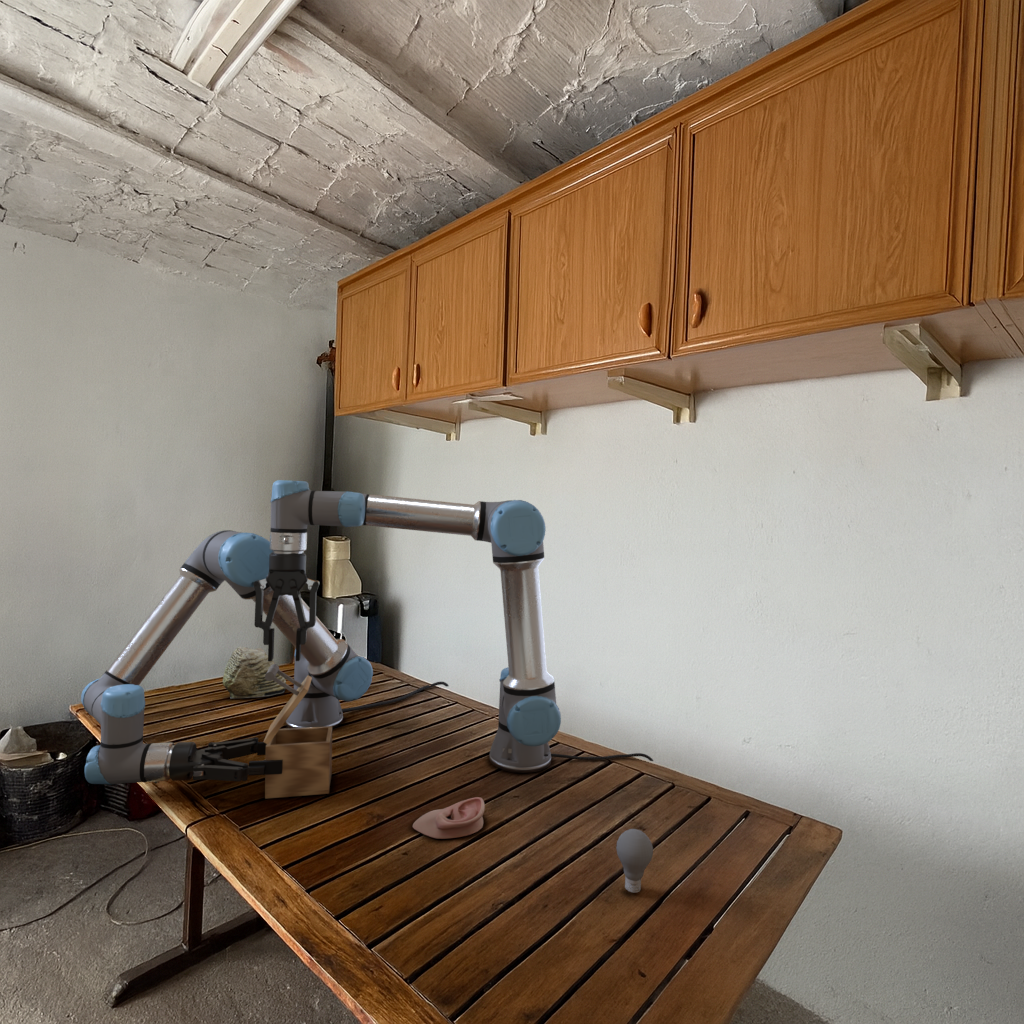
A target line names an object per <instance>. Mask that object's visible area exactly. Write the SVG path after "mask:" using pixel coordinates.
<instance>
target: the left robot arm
mask: <svg viewBox="0 0 1024 1024" xmlns="http://www.w3.org/2000/svg"><path fill="white" fill-rule="evenodd" d="M270 553H272V550H270V540H268V539H267V538H265V537H263V536H261V535H259V534H257V533H253V532H242V531H235V530H229V529H224V530H220V531H215V532H214V533H212V534H210V535H208V536H207V537H206V538H205V539H204V540H203V539H202V541H201V542H200V543H199V544H198V545H197V547H195V549H194V550H193V551H192V552H191V553H190V555H189V556H188V558H187V559H186V560H185V561H184V562H183V564H181V567H179V576H178V578H177V579H176V580H175V581H174V582H173V584H172V585H171V587H170V588H169V589H168V591H167V592H166V593H165V594H164V596H162V598H161V599H160V600H159V602H158V604H157V605H156V606H155V607H154V608H153V610H152V611H151V612H150V614H149V615H148V616H147V617H146V619H145V620H144V621H143V623H142V624H141V625H140V627H139V628H137V630H136V631H135V633H134V634H133V636H132V637H131V638H130V640H129V641H128V642H127V643H126V644H125V646H124V647H123V648H122V650H121V651H120V652H119V653H118V655H117V656H116V657H115V659H114V660H113V661H112V662H111V664H110V665H109V667H107V669H106V670H105V671H104V673H102V675H101V677H99V678H96V679H94V680H92V681H91V682H88V684H87V685H85V686H84V688H83V689H82V692H81V695H80V702H81V705H82V706H83V709H84V710H85V712H86V713H88V715H90V716H91V717H92V718H93V719H95V721H96V722H97V723H98V724H99V725H100V744H99V745H95V746H93V747H91V749H90V750H89V752H88V753H87V756H86V759H85V765H84V777H85V780H86V781H87V783H89V784H90V785H109V786H112V785H121V784H136V783H154V784H159V783H160V782H168V781H169V780H171V781H172V782H178V781H179V782H181V781H190V780H191V779H192V780H193V781H200V780H210V781H226V782H246V781H248V776H249V777H250V776H265V775H271V774H282V766H283V760H266V759H264V760H249V762H248V763H246V762H241V761H237V760H235V759H238V758H241V757H246V756H250V755H255V754H256V756H266V745H267V744H266V743H264V741H259V737H252V738H243V739H242V738H241V739H235V740H234V739H233V740H227V741H219V742H218V741H217V742H213V741H211V742H208V745H207V747H205V748H201V749H198V746H197V744H196V742H194V741H180V742H176V743H174V742H153V743H152V742H151V743H145V742H144V728H145V727H144V726H145V725H144V724H145V708H146V698H145V689H144V688H143V686H141V684H142V682H143V680H144V679H145V678H146V677H147V675H148V674H149V673H150V671H151V670H152V669H153V667H154V666H155V665H156V664H157V662H158V661H159V659H160V658H161V657H162V655H163V654H164V653H165V651H166V650H167V649H168V648H169V646H170V645H171V643H173V641H174V639H176V637H177V636H178V635H179V633H180V632H181V630H182V629H183V628H184V627H185V625H186V623H187V622H188V621H189V620H190V619H191V617H192V616H193V614H194V613H195V612H196V610H198V608H199V607H200V605H201V604H202V602H203V601H204V600H205V598H207V596H208V595H209V594H210V593H213V592H216V591H217V590H218V589H219V587H220V586H221V585H222V584H223V583H224V582H226V583H227V585H229V586H230V588H232V589H233V590H234V592H235V593H236V594H237V595H238V596H239V597H240V598H241V599H242V600H252V601H253V602H254V603H255V600H256V591H255V589H254V586H253V583H254V582H255V581H256V580H262V579H265V578H266V577H267V575H268V573H269V554H270ZM263 591H264V595H263V614H265V615H266V616H267V614H268V610H269V607H270V604H271V601H272V597H273V593H274V591H273V590H272V588H271V587H270V586H269V584H268V583H266V587H265V588H264V589H263ZM301 601H302V605H303V609H304V614H305V618H306V622H308V621H309V605H308V604H307V603H306V602H305V601H304V600H303V598H302V597H301ZM272 624H274V626H275V627H276V628H277V629H278V630H279V631H280V633H282V634H283V636H284V637H285V638H286V639H287V640H288V641H289V642H290V644H292V646H293V647H294V648H295V650H294V655H293V657H294V672H293V679H294V680H296V681H297V682H299V683H301V684H302V682H303V681H304V680H305V678H306V677H307V676H308V675H309V676H310V677H312V680H311V683H310V686H309V690H308V692H307V693H306V695H305V696H304V697H303V699H302V700H301V701H300V703H299V704H298V705H297V707H296V708H295V709H294V711H293V712H292V713H291V715H290V716H289V717H288V719H287V720H286V721H285V726H286V728H287V729H290V728H308V727H326V726H332V730H333V729H335V728H337V727H339V726H340V725H342V723H343V722H344V714H343V713H347V712H354V711H360V710H365V709H372V708H375V707H376V708H377V707H381V706H385V705H390V704H393V703H397V702H400V701H403V700H406V699H408V698H410V697H411V696H413V695H416V694H418V693H420V692H422V691H424V690H426V689H431V688H433V687H436V686H440V685H441V686H442V685H443V686H445V687H449V686H450V685H449V684H448V683H447V682H445V681H436V682H434V683H430V684H427V685H424V686H421V687H419V688H417V689H415V690H412V691H411V692H409V693H406V694H405V695H402V696H399V697H397V698H393V699H389V700H385V701H384V700H383V701H379V702H375V703H371V704H365V705H358V706H352V707H351V706H350V707H346V708H342V706H341V702H340V701H343V702H349V703H350V702H353V701H354V702H355V701H357V700H359V699H360V698H361V697H363V696H364V695H365V694H366V692H368V690H369V688H370V686H371V684H372V681H373V675H374V670H373V666H372V664H371V662H370V661H369V660H368V659H367V658H365V657H364V656H362V655H358V654H357V653H356V652H355V651H354V650H353V648H352V647H351V646H350V645H349V644H348V643H347V641H346V640H345V639H343V638H335V637H334V634H332V633H331V631H329V629H328V628H327V627H326V625H324V623H323V622H322V621H321V620H320V619H319V618H318V616H317V615H316V623H315V626H314V627H310V628H308V629H307V637H306V643H305V645H301V658H300V660H299V661H296V633H297V629H298V628H300V625H299V621H298V616H297V612H296V608H295V603H294V600H293V596H289V595H283V596H280V598H279V601H278V604H277V608H276V611H275V614H274V618H273V621H272ZM429 685H431V686H429ZM293 688H294V689H295V690H297V689H298V688H299V687H298V686H296V685H295V684H293Z"/></svg>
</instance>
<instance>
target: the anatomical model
mask: <svg viewBox="0 0 1024 1024" xmlns="http://www.w3.org/2000/svg"><path fill="white" fill-rule="evenodd" d="M485 809H486V806H485V801H484V798H482V797H480V796H479V797H478V796H476V797H470V798H467V799H463V800H461V801H458V802H456V803H454V804H451V805H449V806H447V807H444V808H440V809H434V810H430V811H428V812H426V813H424V814H422V815H421V816H420V817H419V818H417V819H416V820H415V821H414V822H413V824H412V828H413V830H415V831H417V832H419V833H421V834H422V835H424V836H427V837H429V838H432V839H437V840H440V839H441V840H445V839H455V838H461V837H466V836H470V835H472V834H475V833H477V832H479V831H480V830H482V828H483V827H484V818H483V817H484V816H483V815H484V813H485Z"/></svg>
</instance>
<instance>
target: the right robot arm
mask: <svg viewBox="0 0 1024 1024" xmlns="http://www.w3.org/2000/svg"><path fill="white" fill-rule="evenodd" d="M269 503H270V530H269V531H270V532H269V541H270V550H272V553H270V554H269V573H268V575H267V577H266V578H265V579H262V580H256V581H255V582H254V583H253V586H254V589H255V591H256V600H255V602H254V627H255V628H257V629H258V628H259V629H261V630H262V632H263V635H262V636H263V637H262V643H263V645H264V646H267V649H268V650H267V655H268V661H272V660H273V661H274V658H275V657H274V653H275V628H274V627H272V624H273V622H272V621H273V618H274V614H275V611H276V608H277V604H278V601H279V598H280V596H283V595H289V596H293V600H294V603H295V608H296V612H297V616H298V621H299V625H300V628H298V629H297V633H296V648H295V650H296V661H299V660H300V658H301V645H305V643H306V637H307V629H308V628H310V627H314V626H315V623H316V616H317V592H318V589H319V586H320V581H319V580H318V579H317V580H315V579H311V578H309V576H308V574H307V554H306V552H305V551H307V549H308V548H307V546H308V545H307V544H308V543H307V542H308V526H327V527H344V528H352V527H361V526H367V527H377V528H388V529H398V530H399V529H400V530H409V531H419V532H426V533H427V532H428V533H429V532H430V533H439V534H446V535H447V534H449V535H457V536H458V535H459V536H470V537H471V538H472V539H473V540H474V541H478V542H486V543H491V555H492V556H491V557H492V563H493V565H494V566H496V567H497V568H498V569H499V570H500V582H501V595H502V606H503V617H504V618H503V619H504V628H505V629H504V631H505V641H506V655H507V665H508V666H507V667H504V668H503V669H501V671H500V678H499V698H498V699H499V701H498V725H497V730H496V733H495V735H494V739H493V741H492V744H491V746H490V749H489V757H488V758H489V762H490V763H491V765H493V766H494V767H495V768H498V769H499V770H502V771H505V772H510V773H514V774H515V773H517V774H531V773H538V772H541V771H544V770H546V769H547V768H549V767H550V766H551V763H552V758H562V759H570V760H577V761H578V760H579V761H602V760H604V761H605V760H613V759H622V758H623V759H625V758H633V757H635V758H636V757H643V758H646V759H647V760H648V761H650V762H654V759H653V758H652V757H651V756H650V755H648V754H645V753H642V752H636V753H626V754H612V755H604V756H577V755H568V754H559V753H552V751H551V748H550V744H549V742H550V741H551V740H553V738H555V737H556V735H557V734H558V732H559V730H560V728H561V724H562V715H561V711H560V708H559V705H558V704H557V696H556V683H555V682H556V681H555V678H554V676H553V675H552V674H550V673H549V672H548V668H547V655H546V643H545V642H546V641H545V631H544V619H543V618H544V617H543V607H542V605H543V604H542V594H541V583H540V582H541V581H540V580H541V579H540V570H539V567H540V565H541V564H542V562H543V561H544V560H545V547H544V540H545V537H546V532H547V531H546V527H547V526H546V522H545V519H544V516H543V515H542V513H541V511H540V510H539V509H538V508H537V507H536V506H535V505H534V504H532V503H530V502H529V501H526V500H523V499H513V500H512V499H511V500H502V501H482V500H478V501H477V502H475V504H471V503H460V502H450V501H442V500H441V501H440V500H430V499H419V498H412V497H411V498H409V497H400V496H391V495H380V494H370V493H369V494H368V493H362V492H355V491H348V490H347V491H337V490H336V491H335V490H334V491H332V490H313V489H310V486H309V482H308V481H305V480H290V479H287V480H286V479H277V480H275V481H274V482H273V483H272V488H271V499H270V502H269ZM266 583H268V584H269V586H270V587H271V588H272V590H273V591H274V593H273V597H272V601H271V604H270V607H269V610H268V614H267V615H266V617H265V621H264V620H263V618H264V617H263V615H264V612H263V595H264V591H263V589H264V588H265V587H266ZM306 584H307V589H308V590H309V605H308V607H309V621H308V622H306V618H305V614H304V609H303V605H302V601H301V598H302V595H301V592H300V591H301V590H302V589H303V588H304V586H305V585H306Z"/></svg>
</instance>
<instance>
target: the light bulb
mask: <svg viewBox="0 0 1024 1024" xmlns="http://www.w3.org/2000/svg"><path fill="white" fill-rule="evenodd" d="M615 849H616V854H617V857H618V859H619V861H620V863H621V865H622V867H623V873H624V874H623V875H624V876H625V878H624V888H625V890H627V891H628V892H630V893H634V894H635V893H639V892H640V891H641V889H642V887H641V886H642V879H643V877H644V875H645V871H646V868H647V867H648V866H649V864H650V863H651V861H652V859H653V855H654V847H653V843H652V841H651V838H649V836H648V835H647V834H646V833H645V832H643V831H642V830H641V829H636V828H629V829H627V830H625V831H623V832H622V833H621V834H620V835H619V837H618V839H617V841H616V847H615Z"/></svg>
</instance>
